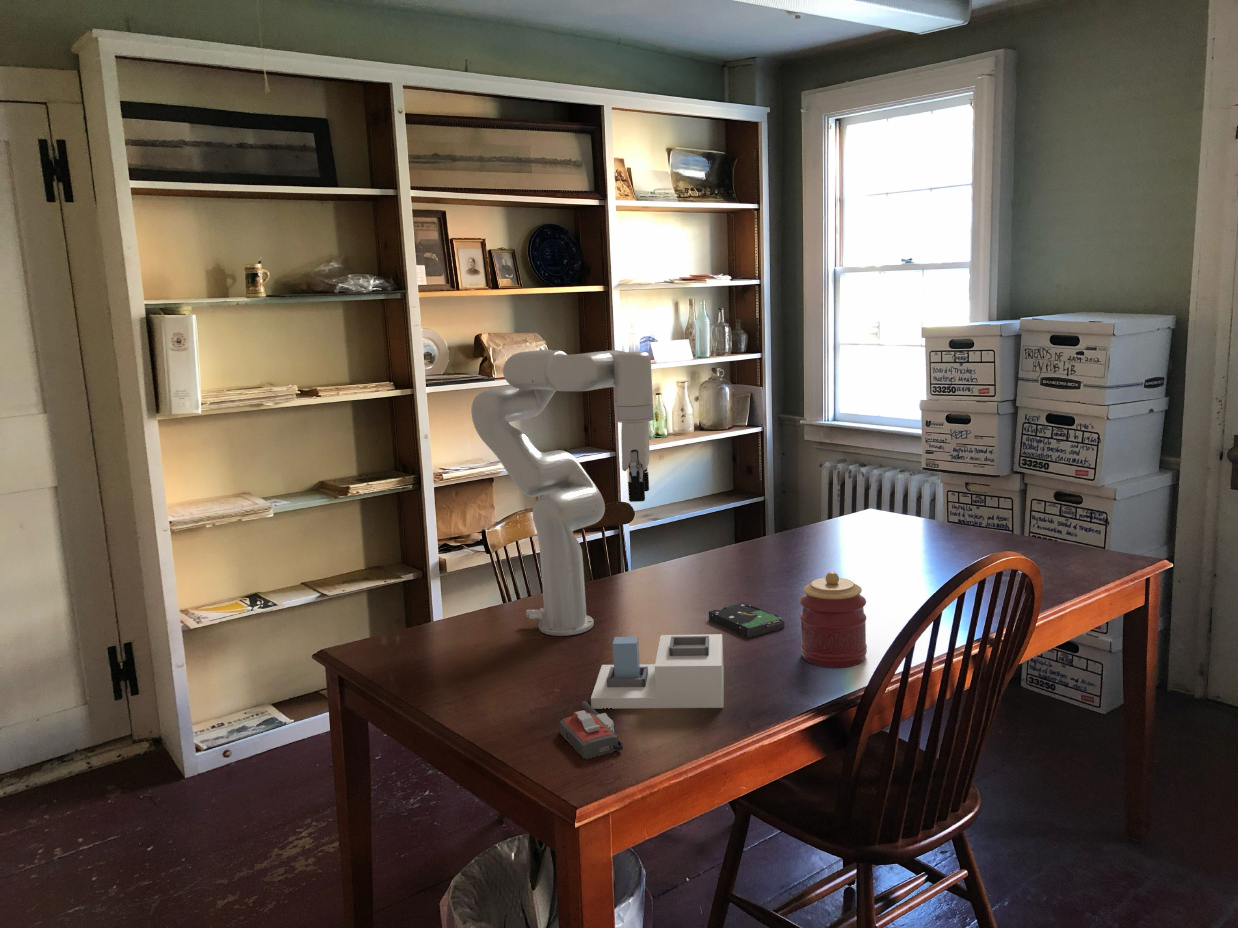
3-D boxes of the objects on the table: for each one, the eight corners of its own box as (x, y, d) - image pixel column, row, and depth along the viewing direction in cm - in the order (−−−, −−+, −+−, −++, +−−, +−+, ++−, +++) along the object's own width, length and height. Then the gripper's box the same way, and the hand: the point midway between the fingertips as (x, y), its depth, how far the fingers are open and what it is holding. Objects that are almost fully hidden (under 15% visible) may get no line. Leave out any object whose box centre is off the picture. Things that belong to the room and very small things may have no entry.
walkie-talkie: (635, 752, 159) (589, 708, 177) (633, 727, 159) (587, 685, 177) (586, 765, 156) (544, 719, 174) (584, 739, 155) (542, 696, 173)
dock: (591, 708, 176) (588, 659, 175) (602, 674, 192) (599, 628, 190) (723, 707, 173) (721, 657, 172) (723, 672, 189) (721, 626, 187)
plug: (615, 683, 182) (612, 643, 180) (617, 676, 185) (614, 636, 184) (638, 683, 181) (636, 643, 180) (640, 676, 185) (638, 636, 183)
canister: (788, 651, 198) (786, 569, 195) (843, 640, 202) (841, 559, 199) (823, 673, 186) (821, 585, 183) (880, 661, 190) (879, 575, 187)
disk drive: (707, 623, 220) (749, 640, 207) (707, 611, 219) (748, 627, 207) (743, 613, 225) (786, 629, 212) (743, 601, 224) (785, 617, 212)
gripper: (621, 409, 204) (625, 488, 207) (611, 419, 187) (616, 506, 190) (656, 407, 203) (660, 487, 206) (649, 418, 186) (654, 504, 189)
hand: (639, 496), depth 198 cm, fingers open, 9 cm apart
